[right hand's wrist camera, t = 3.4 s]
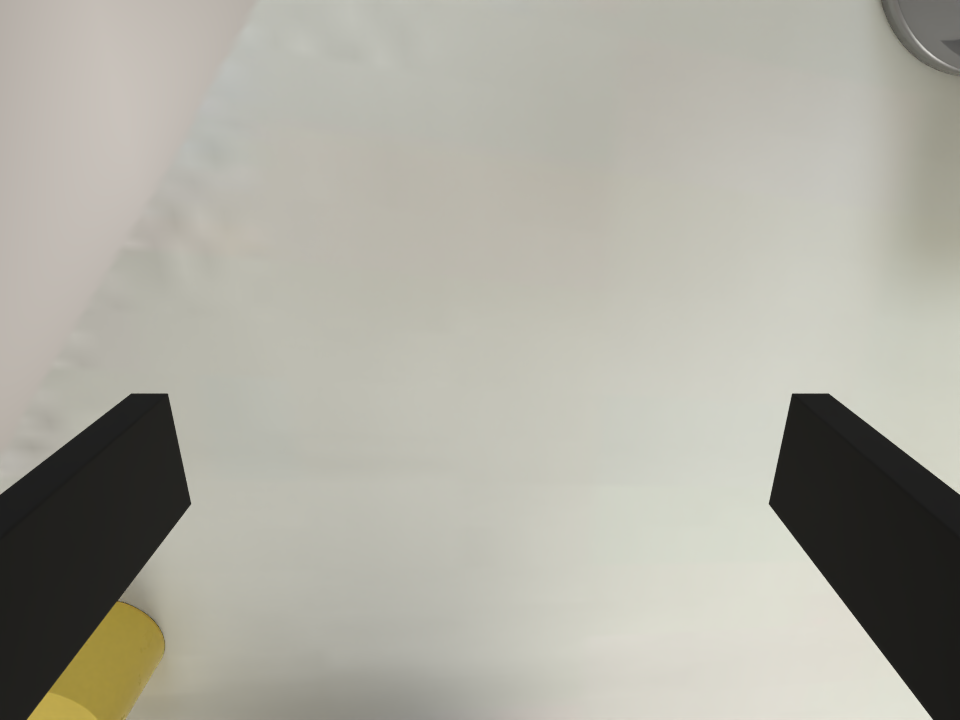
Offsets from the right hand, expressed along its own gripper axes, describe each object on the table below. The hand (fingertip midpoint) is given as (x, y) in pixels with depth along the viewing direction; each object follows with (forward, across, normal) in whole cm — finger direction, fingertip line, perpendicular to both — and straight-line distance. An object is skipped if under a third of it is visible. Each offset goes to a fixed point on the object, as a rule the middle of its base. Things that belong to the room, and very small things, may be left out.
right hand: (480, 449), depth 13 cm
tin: (+29, -33, -36) cm, 57 cm away
